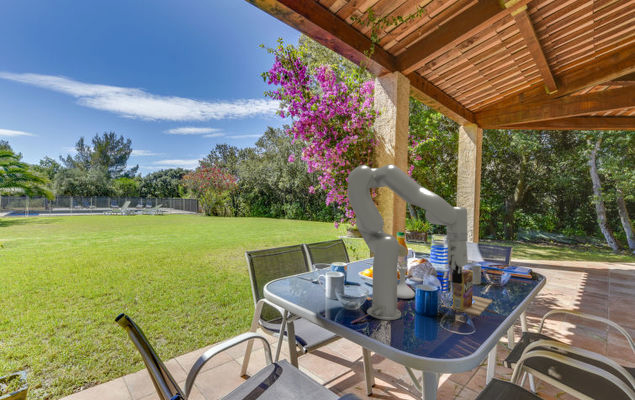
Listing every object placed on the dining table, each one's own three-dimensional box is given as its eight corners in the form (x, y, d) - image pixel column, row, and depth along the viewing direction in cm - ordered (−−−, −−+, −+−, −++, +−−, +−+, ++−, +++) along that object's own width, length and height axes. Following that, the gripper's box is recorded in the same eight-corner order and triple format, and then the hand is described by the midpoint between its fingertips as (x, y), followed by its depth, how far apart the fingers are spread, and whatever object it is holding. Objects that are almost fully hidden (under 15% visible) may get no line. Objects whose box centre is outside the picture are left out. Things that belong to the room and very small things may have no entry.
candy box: (463, 310, 112) (463, 273, 113) (452, 307, 115) (452, 271, 116) (473, 306, 117) (473, 270, 118) (463, 303, 121) (463, 268, 121)
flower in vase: (420, 298, 129) (420, 244, 130) (404, 302, 123) (405, 246, 124) (397, 291, 140) (398, 241, 141) (382, 294, 134) (382, 243, 134)
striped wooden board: (478, 316, 108) (478, 314, 108) (441, 307, 118) (441, 305, 118) (493, 301, 127) (493, 299, 127) (460, 294, 137) (460, 293, 137)
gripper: (461, 239, 104) (461, 288, 103) (472, 236, 114) (472, 281, 114) (440, 237, 109) (440, 284, 108) (453, 235, 120) (453, 278, 119)
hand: (457, 282), depth 111 cm, fingers closed
